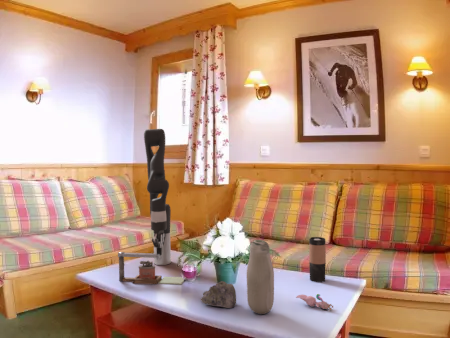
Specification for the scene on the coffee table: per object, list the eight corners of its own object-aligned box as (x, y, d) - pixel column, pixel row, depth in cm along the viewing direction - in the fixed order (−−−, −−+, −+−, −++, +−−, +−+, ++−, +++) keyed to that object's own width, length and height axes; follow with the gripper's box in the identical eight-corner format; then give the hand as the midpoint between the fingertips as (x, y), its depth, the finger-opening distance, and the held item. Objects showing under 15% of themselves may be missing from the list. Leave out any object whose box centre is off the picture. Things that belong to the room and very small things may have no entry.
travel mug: (328, 281, 193) (328, 239, 192) (315, 283, 190) (315, 240, 189) (319, 276, 200) (319, 236, 199) (306, 278, 197) (306, 237, 197)
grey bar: (119, 257, 200) (119, 251, 200) (159, 258, 196) (159, 253, 196) (116, 258, 196) (116, 253, 196) (157, 260, 193) (157, 254, 193)
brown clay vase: (278, 311, 158) (278, 239, 156) (262, 319, 150) (262, 244, 149) (258, 305, 164) (257, 236, 163) (242, 313, 156) (241, 240, 155)
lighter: (156, 280, 197) (156, 260, 197) (154, 282, 194) (154, 262, 194) (140, 280, 198) (139, 259, 198) (138, 282, 195) (137, 261, 194)
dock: (122, 278, 202) (122, 255, 201) (161, 279, 199) (161, 256, 198) (116, 282, 195) (115, 259, 195) (156, 284, 192) (156, 260, 191)
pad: (164, 277, 201) (164, 276, 201) (186, 278, 200) (186, 277, 200) (158, 283, 193) (158, 282, 193) (181, 284, 191) (181, 283, 191)
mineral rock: (199, 305, 165) (198, 280, 165) (217, 297, 173) (217, 274, 173) (222, 313, 157) (222, 287, 156) (240, 305, 165) (240, 280, 164)
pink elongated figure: (333, 311, 161) (298, 298, 169) (336, 297, 160) (300, 284, 168) (328, 316, 156) (292, 303, 163) (331, 302, 155) (294, 288, 163)
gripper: (156, 217, 207) (157, 251, 207) (146, 222, 194) (146, 258, 194) (170, 218, 205) (171, 252, 206) (160, 222, 192) (161, 258, 193)
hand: (159, 255), depth 200 cm, fingers closed
